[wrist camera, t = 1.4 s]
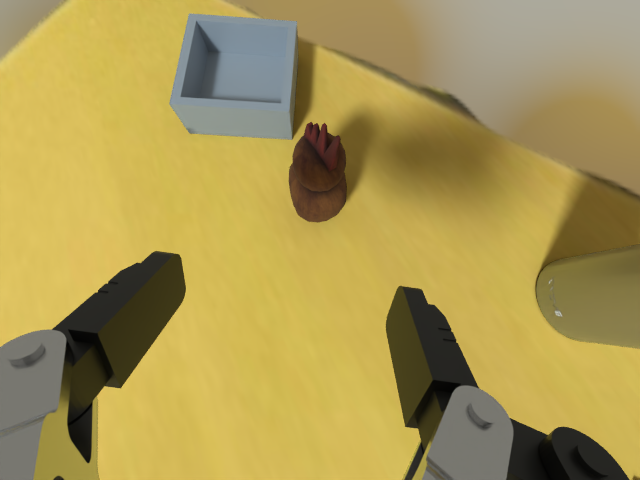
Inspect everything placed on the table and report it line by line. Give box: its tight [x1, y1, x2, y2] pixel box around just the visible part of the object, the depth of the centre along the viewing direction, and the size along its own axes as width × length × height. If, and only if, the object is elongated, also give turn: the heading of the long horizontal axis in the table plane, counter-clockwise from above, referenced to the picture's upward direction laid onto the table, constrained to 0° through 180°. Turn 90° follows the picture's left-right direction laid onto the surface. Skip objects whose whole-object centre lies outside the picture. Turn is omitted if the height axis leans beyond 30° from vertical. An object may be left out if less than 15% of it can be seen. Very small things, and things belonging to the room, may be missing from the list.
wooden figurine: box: [289, 122, 347, 222], centre depth 25 cm, size 7×6×15 cm
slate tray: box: [170, 14, 298, 140], centre depth 33 cm, size 13×13×5 cm
